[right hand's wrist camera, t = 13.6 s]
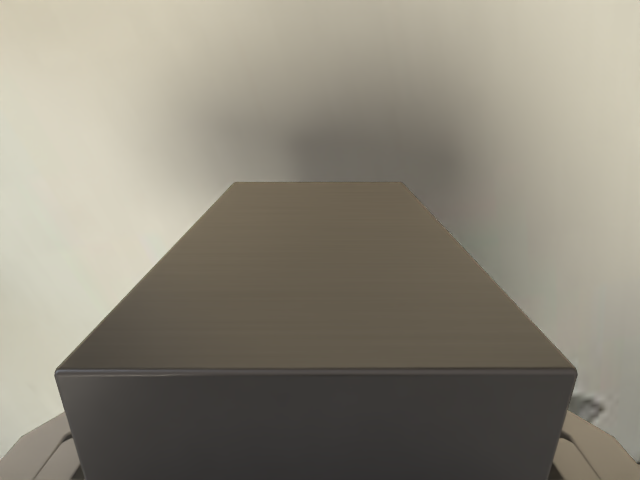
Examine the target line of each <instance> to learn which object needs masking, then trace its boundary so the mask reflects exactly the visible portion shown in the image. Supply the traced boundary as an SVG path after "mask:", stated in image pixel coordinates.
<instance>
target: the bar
mask: <svg viewBox="0 0 640 480" xmlns="http://www.w3.org/2000/svg"><path fill="white" fill-rule="evenodd" d="M54 376H55V379H56V383H57V386H58V390H59V393H60V396H61V400H62V403H63V407H64V410H65V413H66V417H67V420H68V424H69V427H70V430H71V434H72V437H73V441H74V444H75V447H76V451H77V454H78V457H79V461H80V464H81V468H82V471H83V474H84V478H85V480H548V476H549V473H550V469H551V466H552V462H553V459H554V455H555V452H556V448H557V445H558V441H559V438H560V435H561V431H562V428H563V424H564V421H565V417H566V414H567V410H568V407H569V403H570V400H571V396H572V393H573V389H574V386H575V382H576V379H577V370H576V368H575V367H574V366H573V365H572V364H571V363H570V361H569V360H568V359H567V358H566V357H565V356H564V355H563V354H562V353H561V352H560V351H559V350H558V349H557V348H556V346H555V345H554V344H553V343H552V342H551V341H550V340H549V339H548V338H547V337H546V336H545V335H544V334H543V333H542V332H541V330H540V329H539V328H538V327H537V326H536V325H535V324H534V323H533V322H532V321H531V320H530V319H529V318H528V317H527V315H526V314H525V313H524V312H523V311H522V310H521V309H520V308H519V307H518V306H517V305H516V304H515V303H514V302H513V300H512V299H511V298H510V297H509V296H508V295H507V294H506V293H505V292H504V291H503V290H502V289H501V288H500V287H499V286H498V284H497V283H496V282H495V281H494V280H493V279H492V278H491V277H490V276H489V275H488V274H487V273H486V272H485V271H484V269H483V268H482V267H481V266H480V265H479V264H478V263H477V262H476V261H475V260H474V259H473V258H472V257H471V256H470V254H469V253H468V252H467V251H466V250H465V249H464V248H463V247H462V246H461V245H460V244H459V243H458V242H457V241H456V239H455V238H454V237H453V236H452V235H451V234H450V233H449V232H448V231H447V230H446V229H445V228H444V227H443V226H442V225H441V223H440V222H439V221H438V220H437V219H436V218H435V217H434V216H433V215H432V214H431V213H430V212H429V211H428V210H427V208H426V207H425V206H424V205H423V204H422V203H421V202H420V201H419V200H418V199H417V198H416V197H415V196H414V195H413V193H412V192H411V191H410V190H409V189H408V188H407V187H406V186H405V185H404V184H403V183H402V182H235V183H233V184H232V185H231V186H230V187H229V188H228V189H227V191H226V192H225V193H224V194H223V195H222V196H221V197H220V198H219V199H218V200H217V201H216V202H215V203H214V204H213V205H212V206H211V207H210V208H209V209H208V210H207V211H206V213H205V214H204V215H203V216H202V217H201V218H200V219H199V220H198V221H197V222H196V223H195V224H194V225H193V226H192V227H191V228H190V229H189V230H188V231H187V232H186V233H185V235H184V236H183V237H182V238H181V239H180V240H179V241H178V242H177V243H176V244H175V245H174V246H173V247H172V248H171V249H170V250H169V251H168V252H167V253H166V254H165V255H164V256H163V258H162V259H161V260H160V261H159V262H158V263H157V264H156V265H155V266H154V267H153V268H152V269H151V270H150V271H149V272H148V273H147V274H146V275H145V276H144V277H143V278H142V280H141V281H140V282H139V283H138V284H137V285H136V286H135V287H134V288H133V289H132V290H131V291H130V292H129V293H128V294H127V295H126V296H125V297H124V298H123V299H122V300H121V301H120V303H119V304H118V305H117V306H116V307H115V308H114V309H113V310H112V311H111V312H110V313H109V314H108V315H107V316H106V317H105V318H104V319H103V320H102V321H101V322H100V323H99V325H98V326H97V327H96V328H95V329H94V330H93V331H92V332H91V333H90V334H89V335H88V336H87V337H86V338H85V339H84V340H83V341H82V342H81V343H80V344H79V345H78V347H77V348H76V349H75V350H74V351H73V352H72V353H71V354H70V355H69V356H68V357H67V358H66V359H65V360H64V361H63V362H62V363H61V364H60V365H59V366H58V367H57V368H56V371H55V375H54Z"/></svg>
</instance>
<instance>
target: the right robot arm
mask: <svg viewBox="0 0 640 480" xmlns="http://www.w3.org/2000/svg"><path fill="white" fill-rule="evenodd" d="M0 480H85V478H84V474H83V471H82V468H81V464H80V461H79V457H78V454H77V451H76V447H75V444H74V441H73V437H72V434H71V430H70V427H69V424H68V420H67V417H66V413H65V412H63V413H62V414H60V415H58V416H56V417H55V418H53V419H51V420H49V421H48V422H46V423H44V424H42V425H41V426H39V427H37V428H35V429H34V430H32V431H30V432H28V433H27V434H25V435H23V436H22V437H21V438H20V439H19V440H18V441H17V442H16V443H15V444H14V446H13V447H12V448H11V449H10V450H9V451H8V452H7V454H6V455H5V456H4V457H3V458H2V459H1V460H0ZM548 480H640V464H637V463H636V462H635V461H634V460H633V459H632V457H631V456H630V455H629V454H628V453H627V452H626V450H625V449H624V448H623V447H622V446H621V445H620V443H619V442H618V441H617V440H616V439H615V438H614V437H613V436H611V435H610V434H608V433H606V432H604V431H603V430H601V429H599V428H598V427H596V426H594V425H592V424H591V423H589V422H587V421H585V420H584V419H582V418H580V417H579V416H577V415H575V414H573V413H572V412H570V411H568V410H567V414H566V417H565V421H564V424H563V428H562V431H561V435H560V438H559V441H558V445H557V448H556V452H555V455H554V459H553V462H552V466H551V469H550V473H549V476H548Z"/></svg>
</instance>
